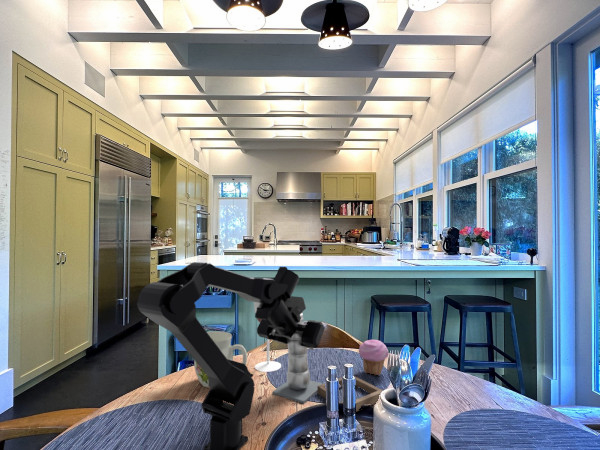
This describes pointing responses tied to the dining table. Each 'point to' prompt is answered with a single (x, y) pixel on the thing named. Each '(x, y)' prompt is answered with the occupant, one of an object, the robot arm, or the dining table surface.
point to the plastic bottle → (297, 362)
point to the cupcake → (373, 356)
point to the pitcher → (225, 346)
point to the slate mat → (297, 392)
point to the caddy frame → (367, 399)
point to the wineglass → (267, 365)
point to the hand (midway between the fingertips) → (301, 345)
